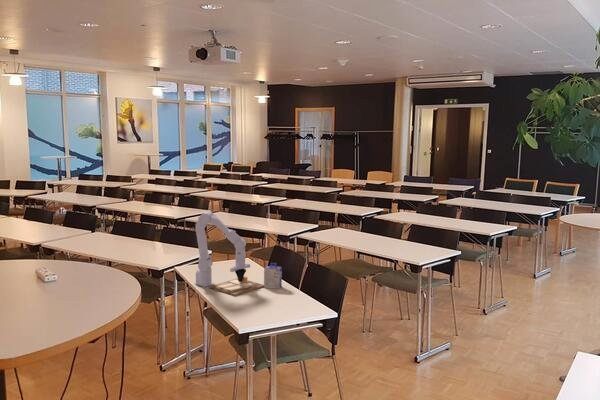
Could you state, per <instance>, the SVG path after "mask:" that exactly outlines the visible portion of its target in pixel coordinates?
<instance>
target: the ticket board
mask: <svg viewBox="0 0 600 400" xmlns="http://www.w3.org/2000/svg"><path fill="white" fill-rule="evenodd" d="M232 280H238V277H236V278H234V279H230V280H228V281H224V282H220V283H217V284H214V285H210V286H208V287H209V289H211V290H214V291H217V292H220V293H222V294H227V295H230V296H233V297H238V296H241V295H244V294H247V293H249V292H253V291H256V290H258V289H261V288H264V284H262V283H259V282H254V281H252V280H248V279H247V283H250V284H252V286H251V287H248V288H244V286H241V285H237V284H234V283H230V282H229V281H232Z"/></svg>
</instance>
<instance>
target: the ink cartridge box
mask: <svg viewBox="0 0 600 400" xmlns="http://www.w3.org/2000/svg"><path fill="white" fill-rule="evenodd" d="M282 268H283V267H282V266H277V262H270V265H269V266H268V265H266V266H265V267H263V285H264V287H263V288H265V289H266V288H267V289H276V290H277V289H280V288H282V287H283V286H282V284H283V283H282V282H283V281H282V279H283V277H282V276H283V269H282Z"/></svg>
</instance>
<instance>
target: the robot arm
mask: <svg viewBox="0 0 600 400" xmlns="http://www.w3.org/2000/svg"><path fill="white" fill-rule="evenodd" d="M207 225H212V226H216V227H217V229H219V230H220V231H222V232H223V233H224V234H225V238H226V239H228V241H230V243H231V244H233V246H234V248H235V265H234V266H233V267H230V268H229V270H230V271H229V272H230V273H233V272H234V273H235V274H236V278H238V281H240V282H242V280H243V276H245V274H246V272H247V268H248V269H249V268H251V263H246V245H247V241H246V239H245V238H243V237H242V236H240V235H239V234H238V233H236V232H237V231H236V230H233V229H229V228H228V226H227V225H226V224H225V223H224V222H223V221H222V220H221V219H220V218H219V217H218V215H216V213H215V214H214V213H213V211H210V210H209V211H206V212H204V213H202V214H200V216H198V219H197V221H196V224H195V234H196V240H197V245H198V253H199V257H198V265H197V268H198V269H197V270H196V272H195V282H194V285H197V286H200V287H203V288H206V287H209V286H213V285H216V284H215V283H214V282H212V278H213V277H212V268H211V267H212V265H214V264H213V262H214V261H213V260H212V259H211V255H210V254H209V249H208V248H209V247H208V242H207V236H206V229H205V228H206V227H207Z"/></svg>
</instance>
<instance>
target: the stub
mask: <svg viewBox="0 0 600 400" xmlns="http://www.w3.org/2000/svg"><path fill="white" fill-rule="evenodd" d="M231 280H232V281H230V280H228V281H229V282H230V283H234V284H237V285H241V286H244V288H248V287H251V286H252V284H250V283H247V280H248V276H245V275H244V276H243V280H242V282H240V281H238V280H234V279H231Z"/></svg>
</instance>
